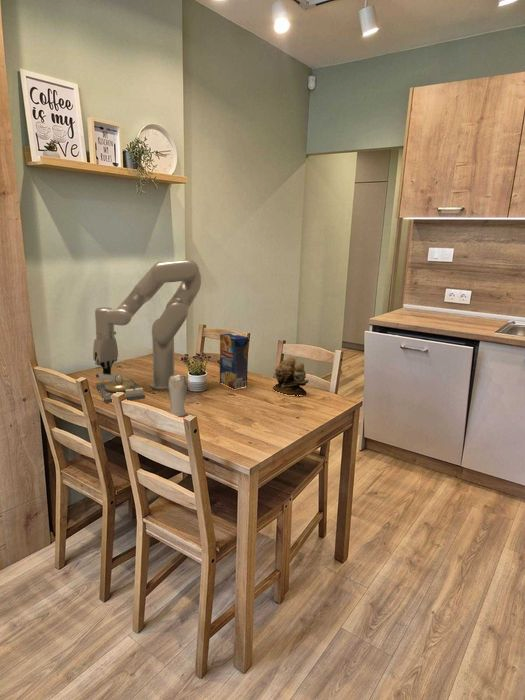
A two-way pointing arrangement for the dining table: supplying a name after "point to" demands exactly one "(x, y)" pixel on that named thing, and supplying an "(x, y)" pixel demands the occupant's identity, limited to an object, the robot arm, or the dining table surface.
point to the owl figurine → (290, 377)
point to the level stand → (130, 393)
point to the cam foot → (115, 382)
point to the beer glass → (177, 394)
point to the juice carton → (233, 360)
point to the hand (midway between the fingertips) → (107, 375)
